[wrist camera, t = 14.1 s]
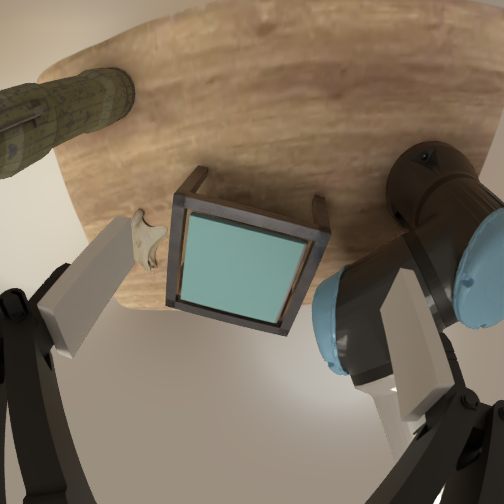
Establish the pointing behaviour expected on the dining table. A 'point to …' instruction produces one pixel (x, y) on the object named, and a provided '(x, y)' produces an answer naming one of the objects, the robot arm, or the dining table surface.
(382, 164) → the dining table surface
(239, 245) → the trapdoor
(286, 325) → the frame
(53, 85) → the thermos
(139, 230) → the fossil
